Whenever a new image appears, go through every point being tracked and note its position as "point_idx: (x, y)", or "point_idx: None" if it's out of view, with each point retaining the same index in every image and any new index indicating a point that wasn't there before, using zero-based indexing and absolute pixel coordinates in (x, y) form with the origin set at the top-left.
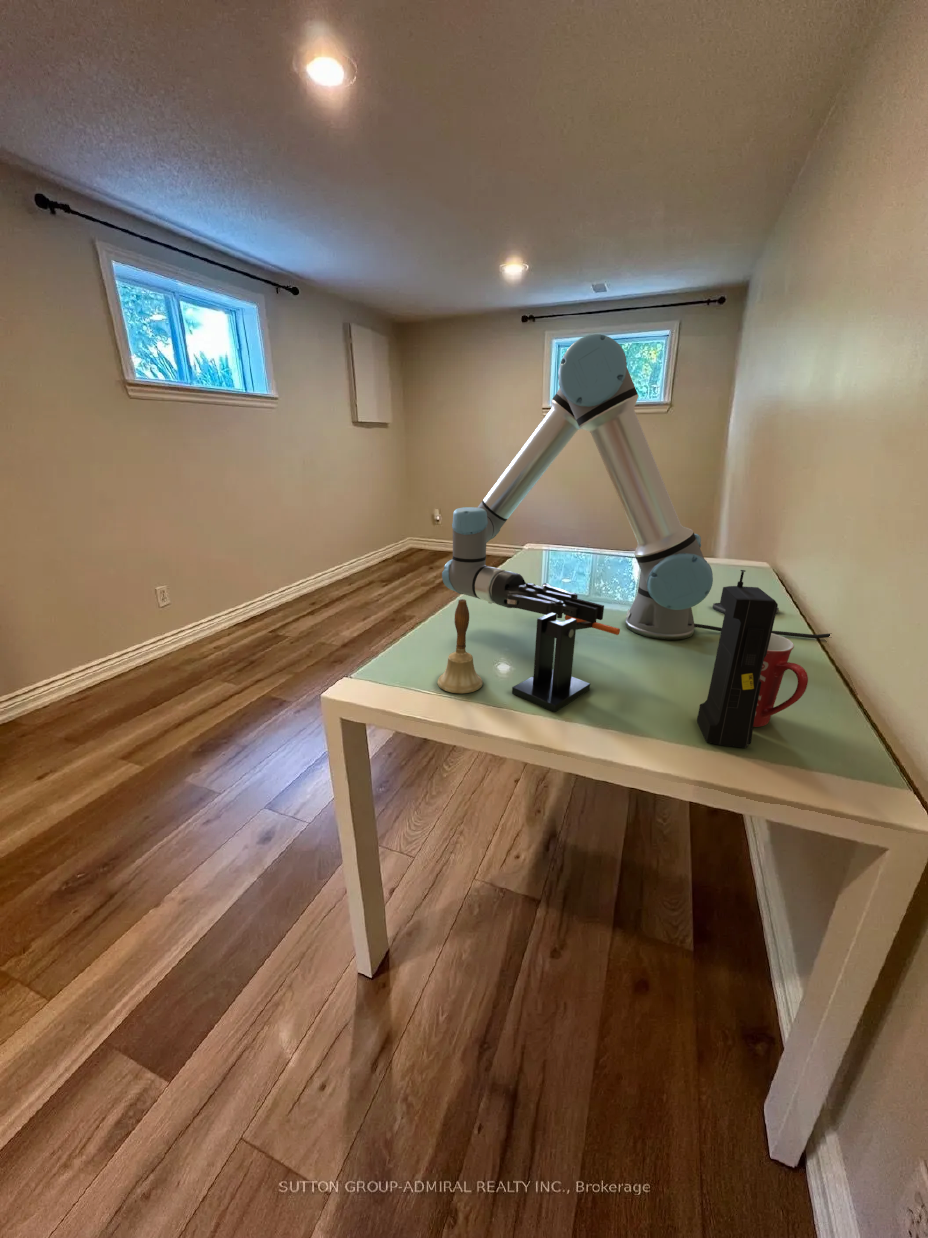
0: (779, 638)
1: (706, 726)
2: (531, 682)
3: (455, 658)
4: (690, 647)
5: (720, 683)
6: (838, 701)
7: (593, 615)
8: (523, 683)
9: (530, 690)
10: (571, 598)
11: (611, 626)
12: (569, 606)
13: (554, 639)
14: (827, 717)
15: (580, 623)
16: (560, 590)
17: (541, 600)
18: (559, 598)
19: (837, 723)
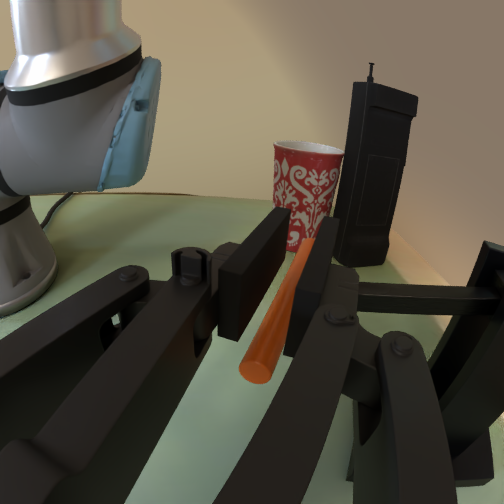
0: (284, 143)
1: (379, 252)
2: (453, 464)
3: None
4: (86, 258)
5: (381, 199)
6: (217, 201)
7: (334, 245)
8: (468, 473)
9: (478, 444)
10: (209, 286)
11: (304, 247)
12: (339, 290)
13: (468, 361)
14: (256, 208)
15: (386, 286)
16: (39, 339)
17: (417, 419)
18: (172, 360)
19: (264, 207)
